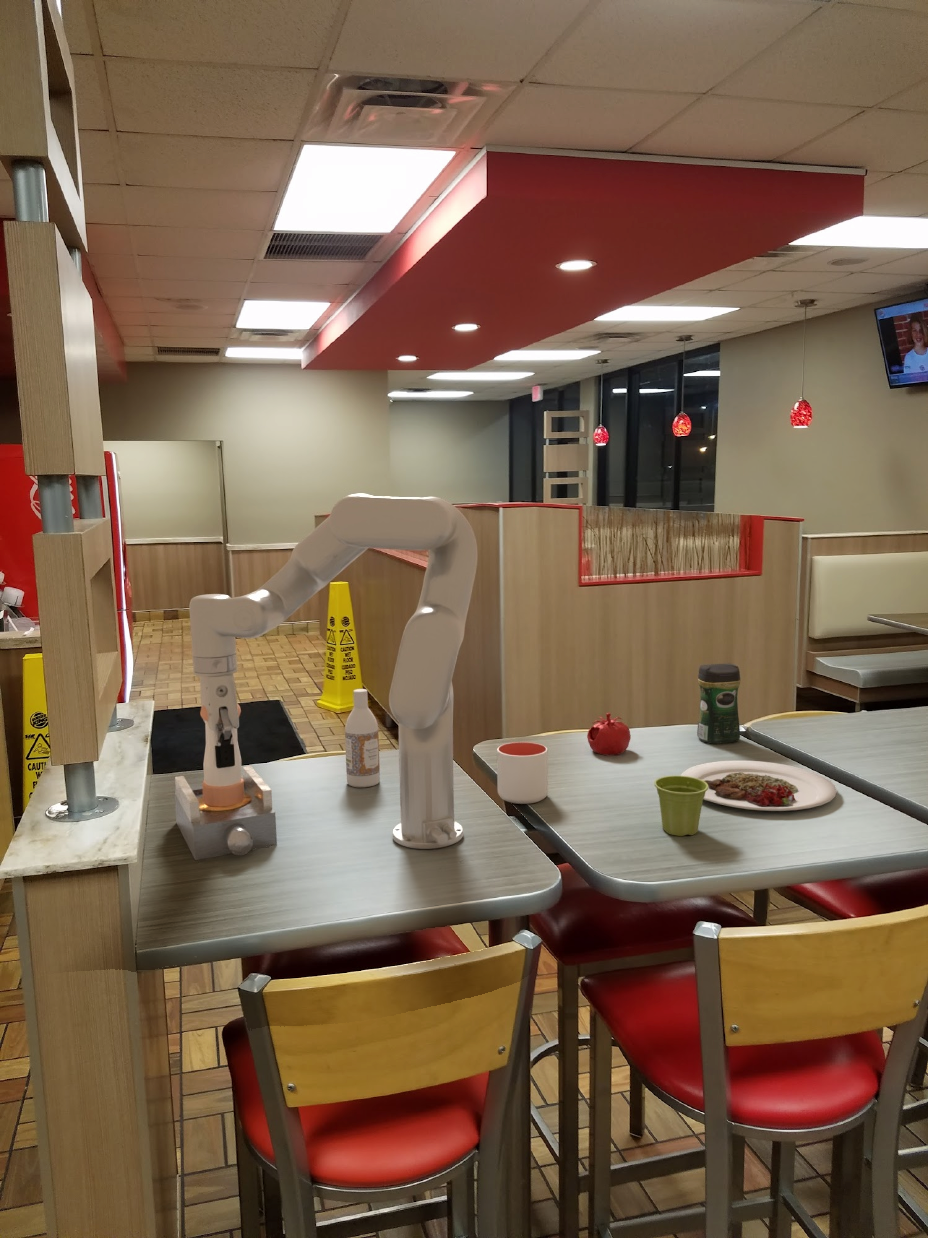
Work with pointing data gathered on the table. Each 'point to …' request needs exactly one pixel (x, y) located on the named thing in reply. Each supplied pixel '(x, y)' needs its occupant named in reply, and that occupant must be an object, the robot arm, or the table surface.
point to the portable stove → (226, 819)
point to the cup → (522, 772)
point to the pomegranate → (609, 736)
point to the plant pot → (680, 803)
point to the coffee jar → (718, 703)
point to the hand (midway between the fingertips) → (220, 760)
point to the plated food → (762, 785)
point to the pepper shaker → (221, 771)
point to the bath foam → (362, 743)
